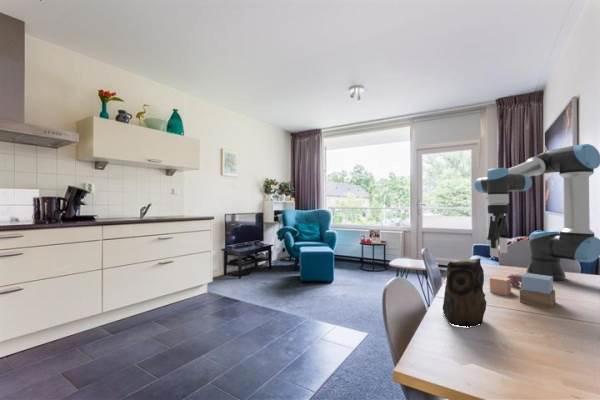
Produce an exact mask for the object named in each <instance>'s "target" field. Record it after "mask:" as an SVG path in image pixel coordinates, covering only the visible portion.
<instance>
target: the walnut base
mask: <svg viewBox="0 0 600 400" xmlns="http://www.w3.org/2000/svg"><path fill="white" fill-rule="evenodd" d="M519 303H522V304H526V305H532V306H537V307H543V308H547V309H553V307H554V305H555V304H556V290H555V289H553V291H552V292H551V293H550V294H544V293H539V292H533V291H527V290H522V287H521V288H520V289H519Z"/></svg>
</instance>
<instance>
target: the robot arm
mask: <svg viewBox="0 0 600 400" xmlns="http://www.w3.org/2000/svg"><path fill="white" fill-rule="evenodd" d="M599 167H600V152H599V150H598V149H597V148H596V147H595V146H594V145H593V144H589V143H583V144H574V145H570V146H565V147H560V148H554V149H549V150H546V151H544V152H542V153H539V154H537V155H535V156H532V157H530V158H527V160H526V161H525V162H522V163H520V164H518V165H514V166H512V167H509V168H507V167H495V168H490V169H488V170H487V173H486V174H487V175H486V176H485V177H479V178H477V179H476V180H475V182H474V189H475V190H476V192H478V193H480V194H487V197H485V199H486V200H487V204H488V205H487V213H488V214H492V215H490V216H489V227H488V234H487V238H486V240H487V241H489V256H491V257H497V258H498V257H499V253H501V254H503V253H504V254H508V239H510V234H509V230H508V224H507V223H508V222H507V214H510V205H508V204H510V194H509V192H526V191H528V190H529V189H530V188H531V187H532V184H533V181H532V176H533V177H535V176H536V177H537V176H540V175H543V174H549V173H551V174H552V173H553V174H554V173H559V174H558V175H559V176H560V177H562V178H563V228H562V229H560V230H559V231H556V230H555V231H542V232H541V231H538V232H537V231H535V232H531V233H530V234H529V256H530V257H529V259H530V261H529V263H528V266H527V268H526V273H530V274H537V275H545V276H552V277H553V281H565V280H566V279H567V277H566V273H565V270H564V268H563V266H562V264H561V260H567V261H568V260H569V261H575V262H580V263H581V262H582V263H593V262H594V261H597V259H598V258H599V257H600V238H599V237H596V236H595V232H594V231H593V230H591V229H590V227H591V226H590V224H591V223H590V221H591V220H590V177H591V176H592V175H594V169H598V168H599ZM498 236H499V237H498ZM498 238H499V239H498Z"/></svg>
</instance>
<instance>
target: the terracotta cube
mask: <svg viewBox="0 0 600 400" xmlns="http://www.w3.org/2000/svg"><path fill="white" fill-rule="evenodd" d="M489 292H490V293H492V294H498V295H503V296H509V295H510V294H511V293H512V284H511V278H507V277H505V276H498V275H493V276H491V277H489Z"/></svg>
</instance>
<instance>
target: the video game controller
mask: <svg viewBox="0 0 600 400" xmlns="http://www.w3.org/2000/svg"><path fill="white" fill-rule="evenodd" d="M523 275H524V274H523ZM523 275H522V274H519V273H518V274H517V273H516V274H514V273H511V274H510V275H508V276H507V277H506V278H511V285H513V286H514V287H515V288H516V287H517V288H518V287H519V286H520V287H521V288H522V278H521V276H523Z"/></svg>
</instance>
